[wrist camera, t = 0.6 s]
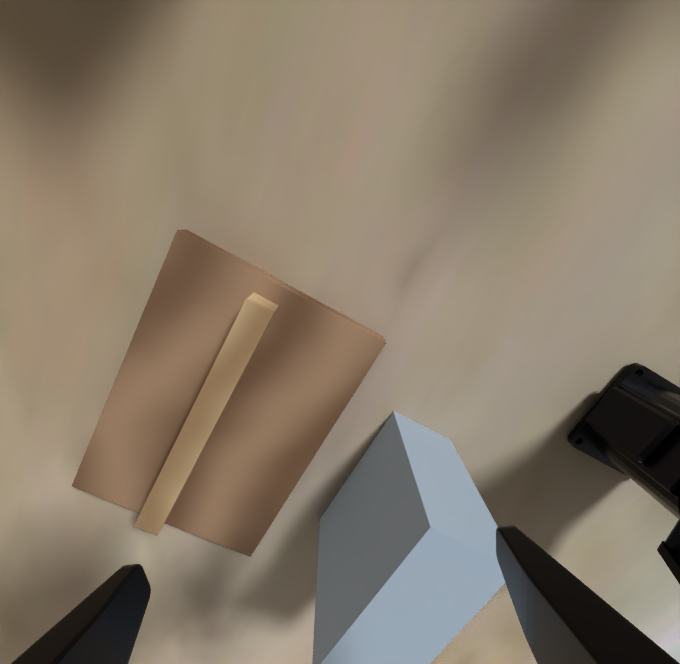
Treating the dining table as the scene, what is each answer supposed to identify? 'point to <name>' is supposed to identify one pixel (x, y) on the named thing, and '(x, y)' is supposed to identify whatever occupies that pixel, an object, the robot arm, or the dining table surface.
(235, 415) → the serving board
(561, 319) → the dining table surface
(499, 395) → the dining table surface
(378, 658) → the blue block
